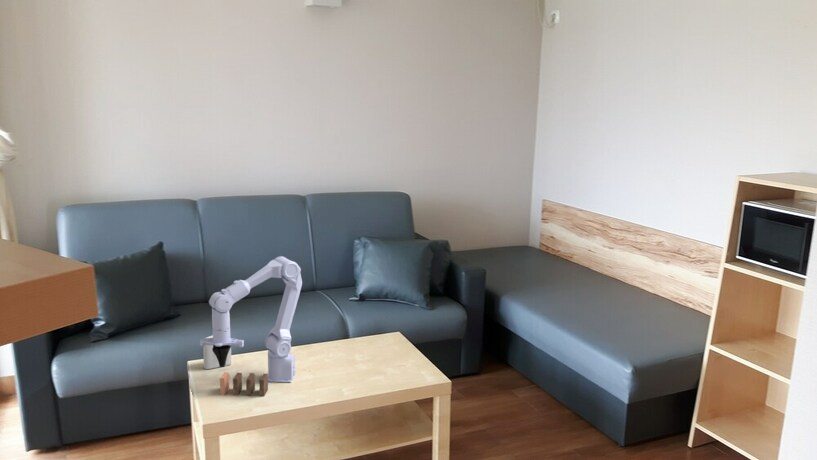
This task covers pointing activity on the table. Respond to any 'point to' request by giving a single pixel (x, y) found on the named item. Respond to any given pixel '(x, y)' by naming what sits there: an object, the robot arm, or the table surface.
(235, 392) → the walnut domino
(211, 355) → the white box with text
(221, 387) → the terracotta domino
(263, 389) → the walnut domino
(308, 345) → the table surface
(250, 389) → the walnut domino
